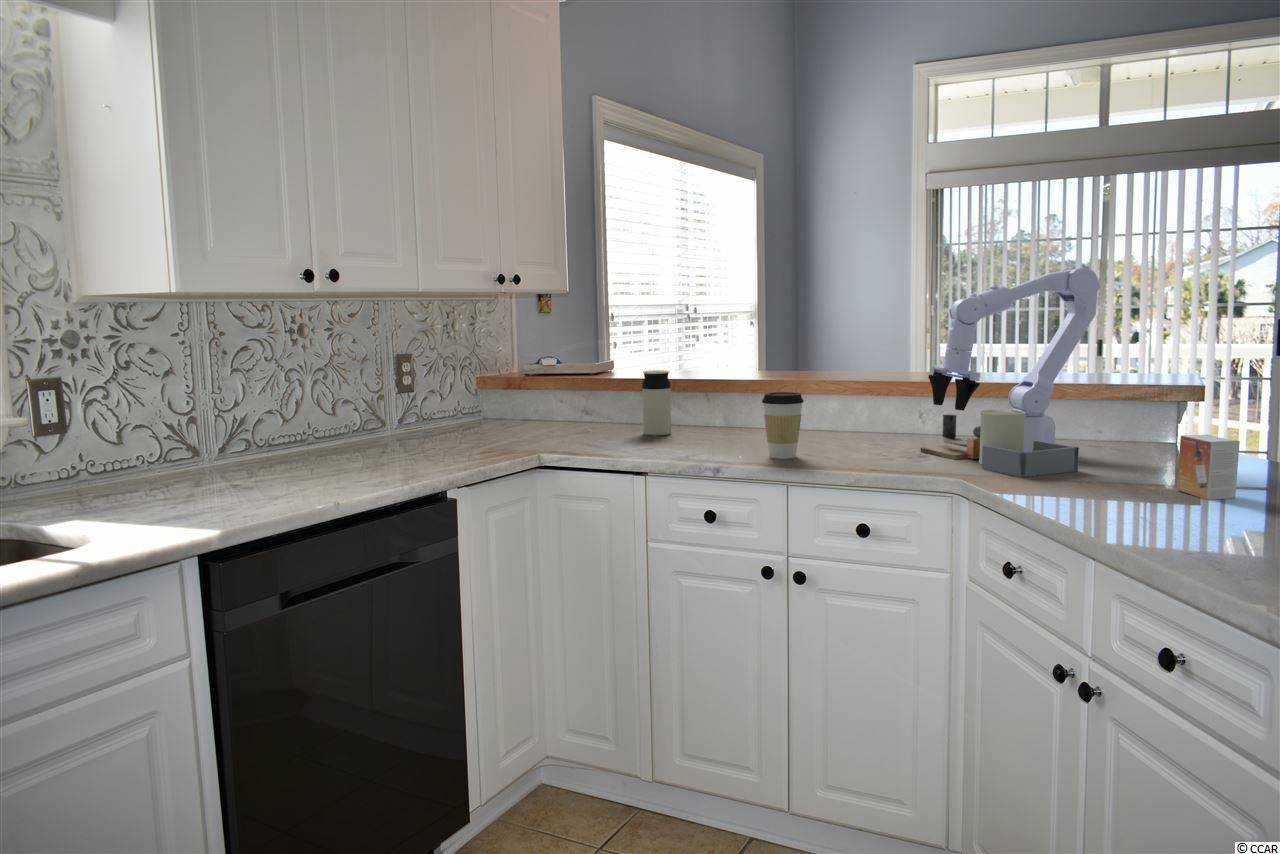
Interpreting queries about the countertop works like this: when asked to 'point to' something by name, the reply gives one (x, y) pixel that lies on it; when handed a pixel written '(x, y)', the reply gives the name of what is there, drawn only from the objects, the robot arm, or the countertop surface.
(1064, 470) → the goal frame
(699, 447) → the countertop surface
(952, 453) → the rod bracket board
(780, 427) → the coffee cup
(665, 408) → the travel mug
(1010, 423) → the can
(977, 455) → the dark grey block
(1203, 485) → the small box
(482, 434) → the countertop surface
